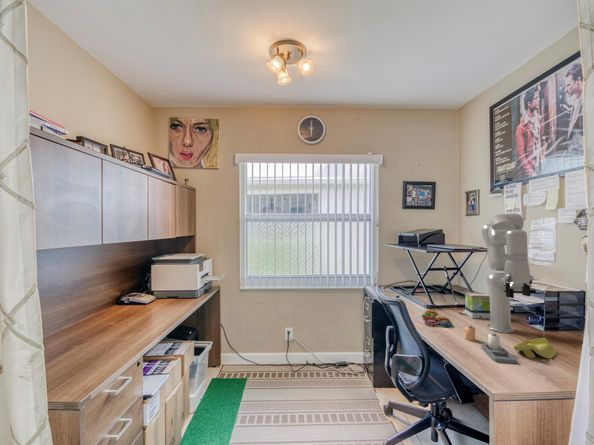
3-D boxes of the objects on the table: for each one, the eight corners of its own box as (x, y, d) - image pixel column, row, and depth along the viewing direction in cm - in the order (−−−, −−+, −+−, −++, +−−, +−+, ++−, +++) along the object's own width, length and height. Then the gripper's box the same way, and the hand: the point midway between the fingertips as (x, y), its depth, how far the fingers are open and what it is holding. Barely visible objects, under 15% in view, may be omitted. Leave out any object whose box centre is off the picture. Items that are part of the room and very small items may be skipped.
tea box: (472, 318, 184) (471, 295, 184) (465, 314, 194) (464, 291, 194) (497, 319, 182) (497, 295, 183) (489, 314, 192) (488, 292, 193)
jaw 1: (464, 339, 150) (463, 324, 150) (473, 340, 149) (473, 324, 149) (466, 342, 146) (466, 327, 146) (476, 343, 145) (476, 327, 145)
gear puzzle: (419, 312, 201) (419, 306, 201) (445, 314, 196) (444, 308, 196) (425, 327, 171) (425, 320, 171) (456, 329, 167) (455, 322, 167)
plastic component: (524, 340, 142) (548, 336, 135) (532, 357, 139) (557, 354, 132) (509, 347, 130) (534, 344, 123) (517, 365, 127) (543, 362, 120)
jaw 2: (487, 348, 136) (486, 331, 136) (497, 349, 135) (497, 332, 135) (490, 352, 132) (490, 335, 132) (501, 353, 131) (501, 335, 131)
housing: (480, 348, 138) (480, 343, 138) (501, 350, 136) (501, 345, 136) (493, 363, 123) (493, 357, 123) (518, 366, 121) (518, 360, 121)
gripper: (522, 256, 136) (524, 293, 135) (494, 258, 131) (495, 296, 131) (540, 257, 129) (541, 296, 128) (510, 259, 124) (511, 300, 123)
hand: (518, 296), depth 129 cm, fingers open, 9 cm apart
